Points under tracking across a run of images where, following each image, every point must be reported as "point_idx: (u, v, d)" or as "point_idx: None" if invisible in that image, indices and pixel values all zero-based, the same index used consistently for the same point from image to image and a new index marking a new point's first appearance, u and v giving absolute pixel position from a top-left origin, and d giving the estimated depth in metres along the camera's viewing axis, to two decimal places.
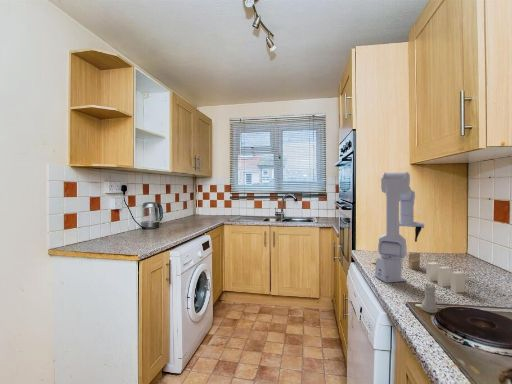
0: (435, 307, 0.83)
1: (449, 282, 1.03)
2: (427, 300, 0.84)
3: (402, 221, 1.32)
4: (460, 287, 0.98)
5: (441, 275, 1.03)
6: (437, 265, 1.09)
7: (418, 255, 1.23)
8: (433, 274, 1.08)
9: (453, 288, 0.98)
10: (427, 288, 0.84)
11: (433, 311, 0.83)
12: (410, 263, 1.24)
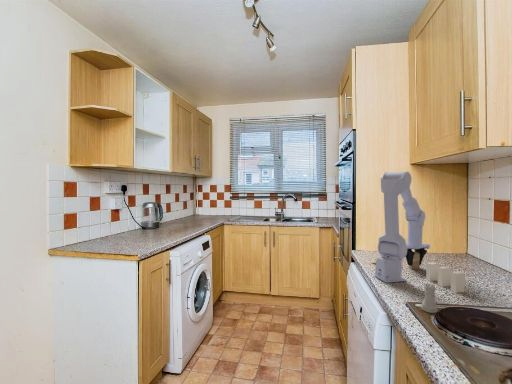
0: (435, 307, 0.83)
1: (449, 282, 1.03)
2: (427, 300, 0.84)
3: (415, 244, 1.21)
4: (460, 287, 0.98)
5: (441, 275, 1.03)
6: (437, 265, 1.09)
7: (418, 255, 1.23)
8: (433, 274, 1.08)
9: (453, 288, 0.98)
10: (427, 288, 0.84)
11: (433, 311, 0.83)
12: None
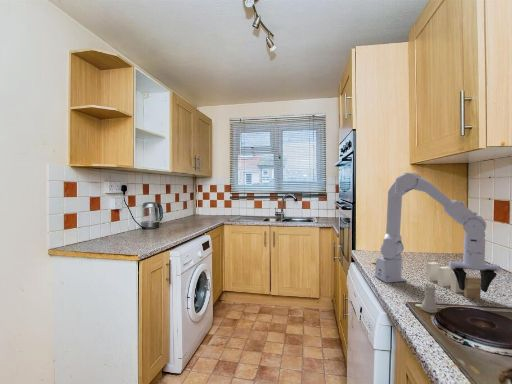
0: (435, 307, 0.83)
1: (449, 282, 1.03)
2: (427, 300, 0.84)
3: (471, 262, 0.91)
4: None
5: (441, 275, 1.03)
6: (437, 265, 1.09)
7: (478, 281, 0.92)
8: (433, 274, 1.08)
9: (453, 288, 0.98)
10: (427, 288, 0.84)
11: (433, 311, 0.83)
12: (465, 289, 0.94)
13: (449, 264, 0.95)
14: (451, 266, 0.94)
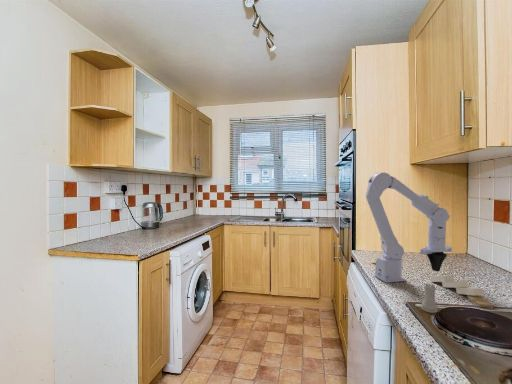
0: (435, 307, 0.83)
1: None
2: (427, 300, 0.84)
3: (438, 246, 1.05)
4: None
5: (452, 286, 0.99)
6: None
7: None
8: (439, 281, 1.05)
9: (459, 291, 0.96)
10: (427, 288, 0.84)
11: (433, 311, 0.83)
12: (471, 300, 0.91)
13: (422, 251, 1.05)
14: (425, 252, 1.05)
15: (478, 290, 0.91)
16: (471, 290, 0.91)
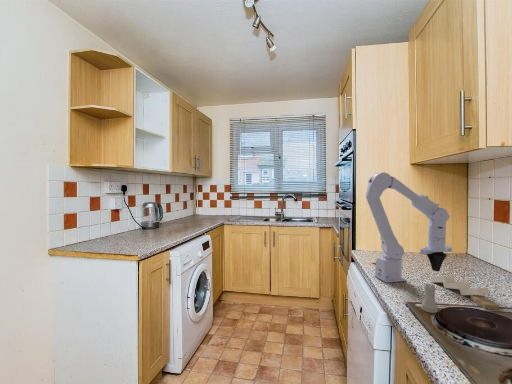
0: (435, 307, 0.83)
1: None
2: (427, 300, 0.84)
3: (438, 246, 1.05)
4: None
5: (453, 287, 0.98)
6: (451, 281, 1.02)
7: None
8: None
9: (463, 292, 0.94)
10: (427, 288, 0.84)
11: (433, 311, 0.83)
12: (475, 300, 0.90)
13: (422, 251, 1.05)
14: (425, 252, 1.05)
15: (483, 289, 0.90)
16: (476, 289, 0.90)
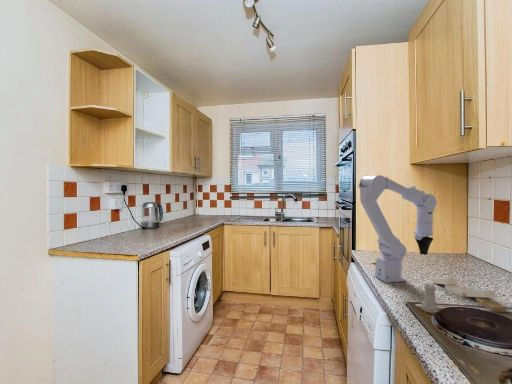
0: (435, 307, 0.83)
1: None
2: (427, 300, 0.84)
3: (428, 231, 1.10)
4: None
5: None
6: None
7: None
8: (441, 283, 1.04)
9: (468, 294, 0.93)
10: (427, 288, 0.84)
11: (433, 311, 0.83)
12: (481, 303, 0.88)
13: (417, 236, 1.09)
14: (420, 238, 1.08)
15: (489, 292, 0.88)
16: (483, 292, 0.88)
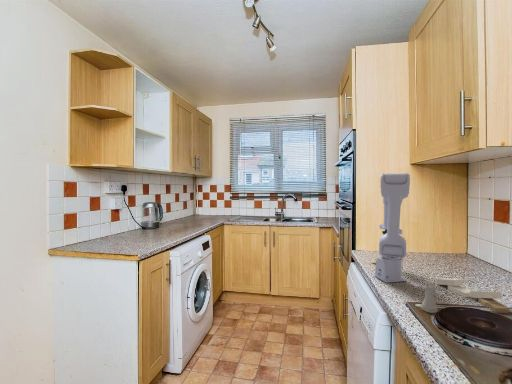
0: (435, 307, 0.83)
1: None
2: (427, 300, 0.84)
3: None
4: None
5: None
6: None
7: None
8: (446, 284, 1.03)
9: (473, 294, 0.92)
10: (427, 288, 0.84)
11: (433, 311, 0.83)
12: (483, 304, 0.88)
13: (399, 231, 1.19)
14: (401, 232, 1.20)
15: (496, 293, 0.87)
16: (489, 293, 0.87)
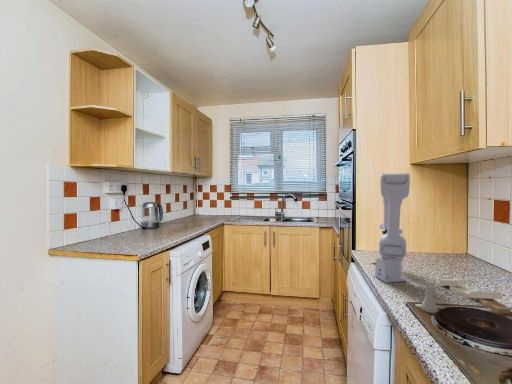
0: (435, 307, 0.83)
1: None
2: (427, 300, 0.84)
3: None
4: None
5: (460, 294, 0.96)
6: None
7: None
8: (450, 285, 1.01)
9: (474, 295, 0.91)
10: (427, 288, 0.84)
11: (433, 311, 0.83)
12: (484, 304, 0.87)
13: (399, 231, 1.19)
14: (401, 232, 1.20)
15: (496, 293, 0.86)
16: (489, 293, 0.86)
